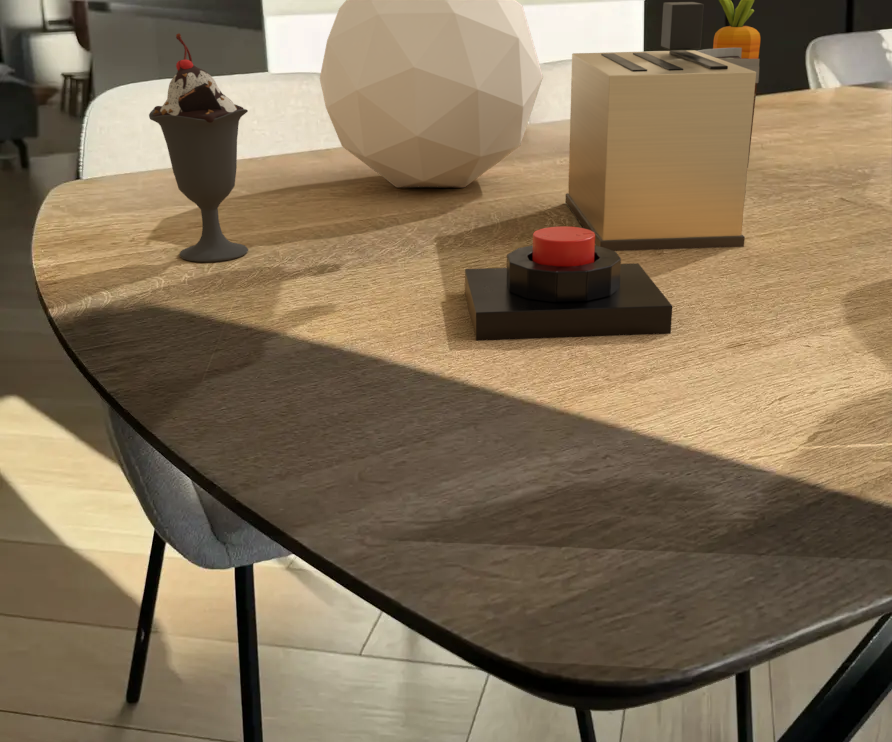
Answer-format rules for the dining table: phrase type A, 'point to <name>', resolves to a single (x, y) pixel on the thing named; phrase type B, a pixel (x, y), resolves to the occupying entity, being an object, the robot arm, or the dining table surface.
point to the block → (564, 299)
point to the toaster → (659, 149)
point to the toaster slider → (682, 25)
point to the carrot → (738, 30)
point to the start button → (563, 246)
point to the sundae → (202, 152)
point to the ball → (430, 86)
